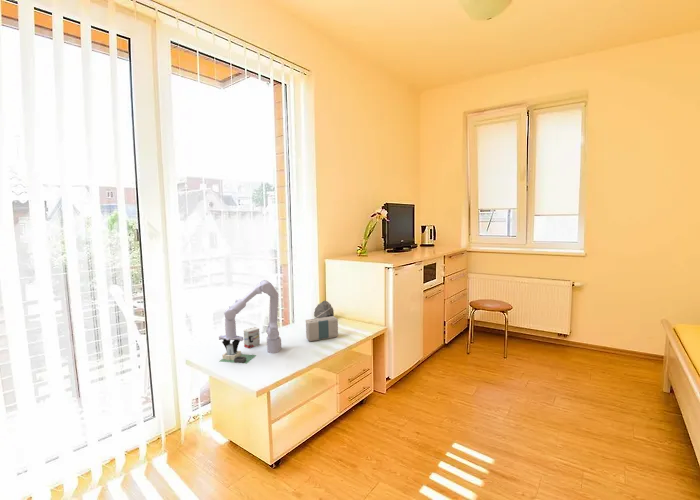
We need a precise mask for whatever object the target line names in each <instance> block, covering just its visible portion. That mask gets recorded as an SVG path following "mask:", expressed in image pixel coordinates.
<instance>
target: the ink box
mask: <svg viewBox="0 0 700 500" xmlns="http://www.w3.org/2000/svg"><path fill="white" fill-rule="evenodd" d="M260 338H261V337H260V328H258V327H256V326H253V327H250V328H249V327H248V328H246V329H244V330H243V344H244V345H243V346H244V348H247V349H251V348H254V347H259V346H260V345H261V339H260Z"/></svg>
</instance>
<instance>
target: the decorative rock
mask: <svg viewBox="0 0 700 500" xmlns="http://www.w3.org/2000/svg"><path fill="white" fill-rule="evenodd" d="M331 307H332V308H331ZM329 308H330V309H329ZM328 309H329V310H328ZM326 310H327V311H326ZM325 311H326V312H325ZM334 311H335V310H334V308H333V306H332V305H331V303H330V302H329V301H327V300H322V301H321V302H320V303H318V304H317V305H316V307H315V309H314V312H313V317H314V318H316V317H317V316H318V317H317V318H323V317H330V316H334V313H335V312H334ZM323 312H324V313H323ZM322 313H323V314H322ZM320 314H321V315H320ZM319 315H320V316H319ZM334 317H335V316H334Z"/></svg>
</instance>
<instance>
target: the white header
mask: <svg viewBox="0 0 700 500" xmlns="http://www.w3.org/2000/svg"><path fill="white" fill-rule="evenodd" d="M241 354H242V350H237V353H236V354H235V355H227V351H226V352H224V353H223V354H222V357H221V358H222V359H226V360H234V359H235V358H236V357H237V356H238V357H239V356H241Z"/></svg>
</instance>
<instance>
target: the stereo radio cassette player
mask: <svg viewBox="0 0 700 500" xmlns="http://www.w3.org/2000/svg"><path fill="white" fill-rule="evenodd" d="M331 308H333V306H332V307H331ZM329 309H330V308H329ZM329 309H328V310H329ZM326 311H327V310H326ZM326 311H325V312H326ZM323 313H324V312H323ZM323 313H322V314H323ZM320 315H321V314H320ZM320 315H319V316H320ZM317 317H318V316H317ZM317 317H314V318H310V319H305V337H306V339H307V341H308V342H313V341H320V340H326V339H332V338H337V337H338V336H339V319H338V318H337V317H335V316H330V317H323V318H317Z"/></svg>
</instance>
